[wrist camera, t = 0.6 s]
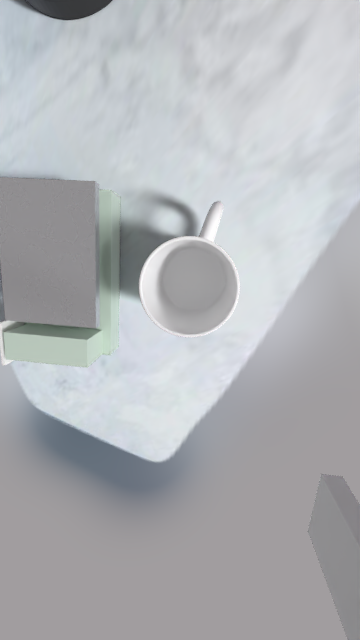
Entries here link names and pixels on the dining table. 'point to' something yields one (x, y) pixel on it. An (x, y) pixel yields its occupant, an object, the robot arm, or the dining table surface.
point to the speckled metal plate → (50, 251)
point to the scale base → (69, 340)
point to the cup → (190, 282)
